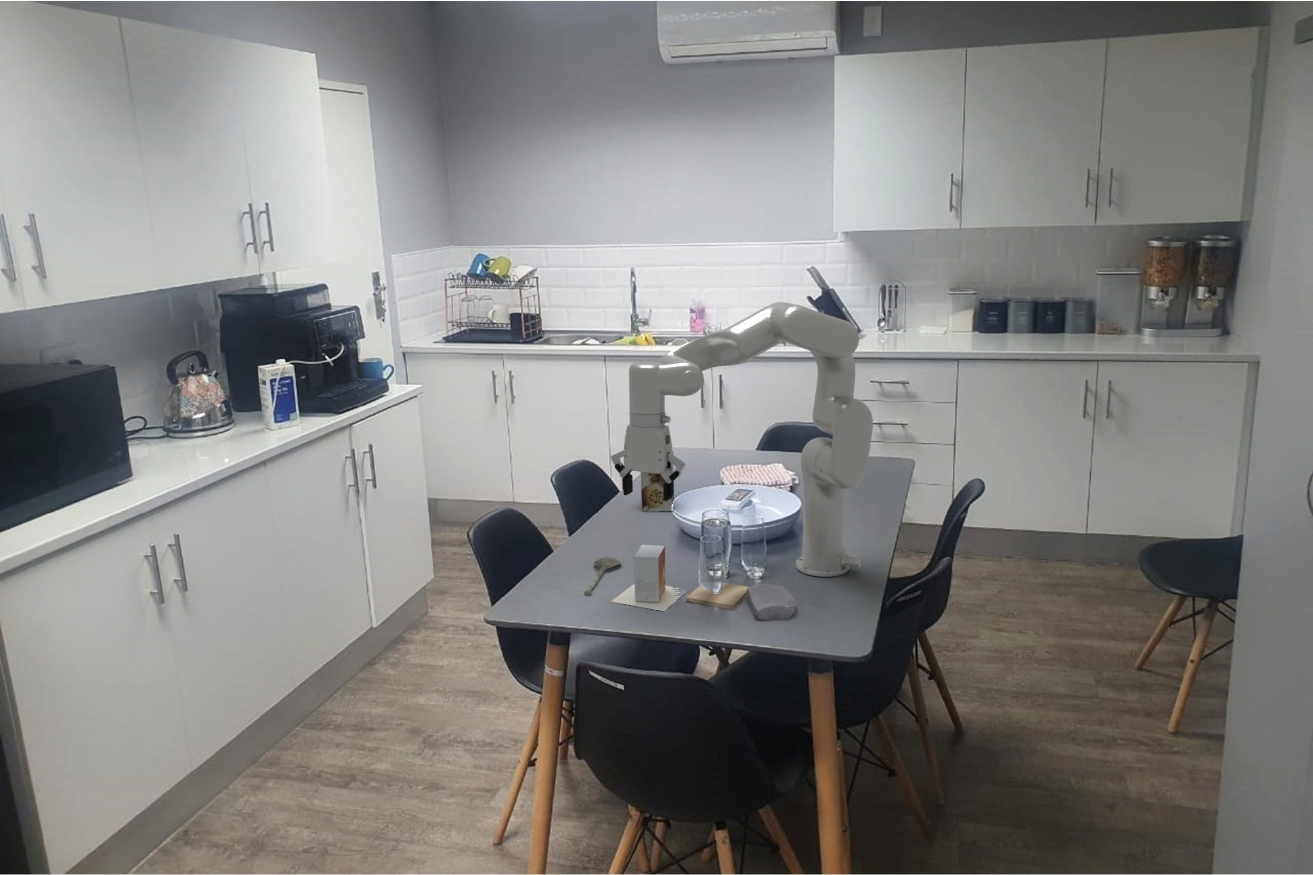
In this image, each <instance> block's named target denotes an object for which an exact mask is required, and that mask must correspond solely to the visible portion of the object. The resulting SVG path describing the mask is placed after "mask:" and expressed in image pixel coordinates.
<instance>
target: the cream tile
mask: <svg viewBox="0 0 1313 875" xmlns="http://www.w3.org/2000/svg"><path fill="white" fill-rule="evenodd" d="M673 587H674V586H670V585H665V588H666V589H665V591H664V593H663V596H662V597H661V599H660V602H646V601H635V583H633V584H632V585H630V586H629V587H628V588H627V589H625V590H624V591H623V592H622V593H620V594H619V595H618V596H616V597H615V598H614V599H612V600H611V601H610V603H614V604H617V603H618V605H623V604H627V605H626V606H628V605H631V606H630V607H634V606H638V607H637V608H639V607H640V606H655V607H644V608H643V609H645V608H649V609H648V610H650V609H653V610H652V611H656V610H662V611H665V610H666V611H668V609H660V608H668V607H666V606H671V605H668V604H673V605H674V604H676V603H677V602H678V601H677V600H675V599H679V598H677V597H681V596H673V595H677V593H680V592H676V593H675V591H679V590H673V589H679V588H680V587H676V588H673ZM667 593H670V594H667ZM669 595H671V596H669ZM668 597H673V598H668ZM681 598H682V597H681ZM679 600H680V599H679ZM676 601H677V602H676ZM637 604H643V605H637ZM657 604H666V605H657ZM671 607H672V606H671ZM666 611H665V612H666Z"/></svg>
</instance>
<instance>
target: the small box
mask: <svg viewBox="0 0 1313 875" xmlns="http://www.w3.org/2000/svg"><path fill="white" fill-rule="evenodd" d="M633 570H634V572H633V574H634V575H633V576H634V580H633V581H634V583H635V601H646V602H660V599H661V597H662V595H663V593H664V591H665V589H666V588H665V586H666V545H655V544H654V545H653V544H641V545H640V546H639V549H638V550H637V552H636V553H635V555H634V556H633ZM634 583H633V584H634Z"/></svg>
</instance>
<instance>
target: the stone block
mask: <svg viewBox="0 0 1313 875" xmlns="http://www.w3.org/2000/svg"><path fill="white" fill-rule="evenodd" d="M747 587H748V588H747V596H746V601H747V603H748V605H749V608H750V610H751V613H752V615H753V617H754V619H756V620H757V621H759V622H762V621H771V620H772V621H774V620H789V619H790V618H791V617H792V616H793V614H794V613H795V610H796V607H797V604H796V599H795V597H794V596H792V593H790V591H789V589H787V588H786V587H784V586H782V585H777V584H770V583H767V584H766V583H759V584H752V585H751V586H747Z"/></svg>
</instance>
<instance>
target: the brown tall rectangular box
mask: <svg viewBox="0 0 1313 875" xmlns="http://www.w3.org/2000/svg"><path fill="white" fill-rule="evenodd" d="M671 470H672V472H675V469H674V466H673V467H672V468H671ZM665 482H666V481H665V480H664V478H663V477H662V476H661V474H656V473H647V472H640V487H641V488H640V489H641V490H640V492H641V493H640V494H641V495H640V496H641V512H659V511H670V509H671V505H672V504H673V501H674V502H675V494H674V495H673V496H672V498H671V499H669V500H668V501H664V499H663V484H664V483H665Z"/></svg>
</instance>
